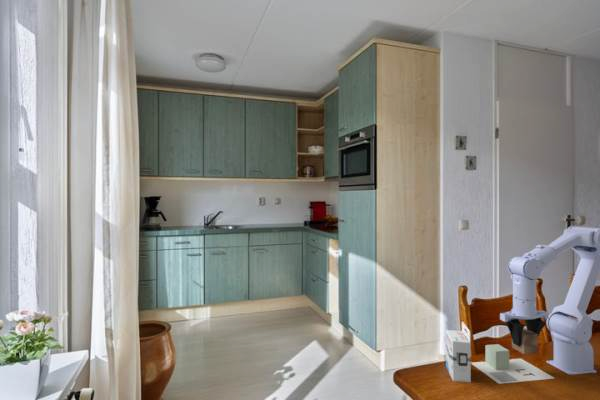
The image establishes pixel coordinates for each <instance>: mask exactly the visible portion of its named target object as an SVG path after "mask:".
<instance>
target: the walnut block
mask: <svg viewBox="0 0 600 400" xmlns="http://www.w3.org/2000/svg"><path fill="white" fill-rule="evenodd" d="M538 343H539V336H538V334H536V333H534V332H532V331H529V330H527V328H525V327H524V328H523V331H522V339H521V346H517V345H515V344H514V343H513V340H512V339H511V349H514V350H516V351H517V352H520V354H523V355H533V354H538V353H539V349H538V348H539V344H538Z"/></svg>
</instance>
